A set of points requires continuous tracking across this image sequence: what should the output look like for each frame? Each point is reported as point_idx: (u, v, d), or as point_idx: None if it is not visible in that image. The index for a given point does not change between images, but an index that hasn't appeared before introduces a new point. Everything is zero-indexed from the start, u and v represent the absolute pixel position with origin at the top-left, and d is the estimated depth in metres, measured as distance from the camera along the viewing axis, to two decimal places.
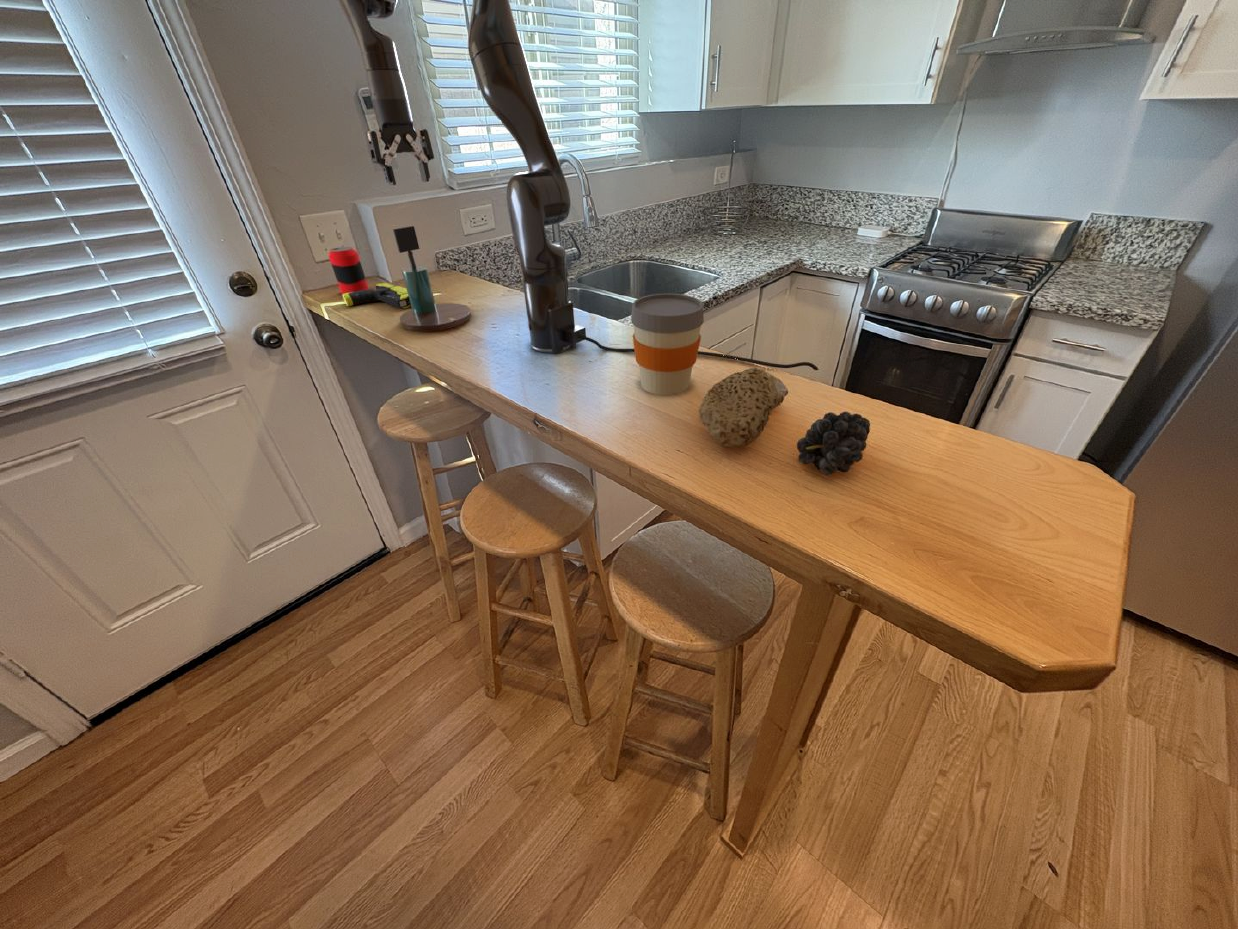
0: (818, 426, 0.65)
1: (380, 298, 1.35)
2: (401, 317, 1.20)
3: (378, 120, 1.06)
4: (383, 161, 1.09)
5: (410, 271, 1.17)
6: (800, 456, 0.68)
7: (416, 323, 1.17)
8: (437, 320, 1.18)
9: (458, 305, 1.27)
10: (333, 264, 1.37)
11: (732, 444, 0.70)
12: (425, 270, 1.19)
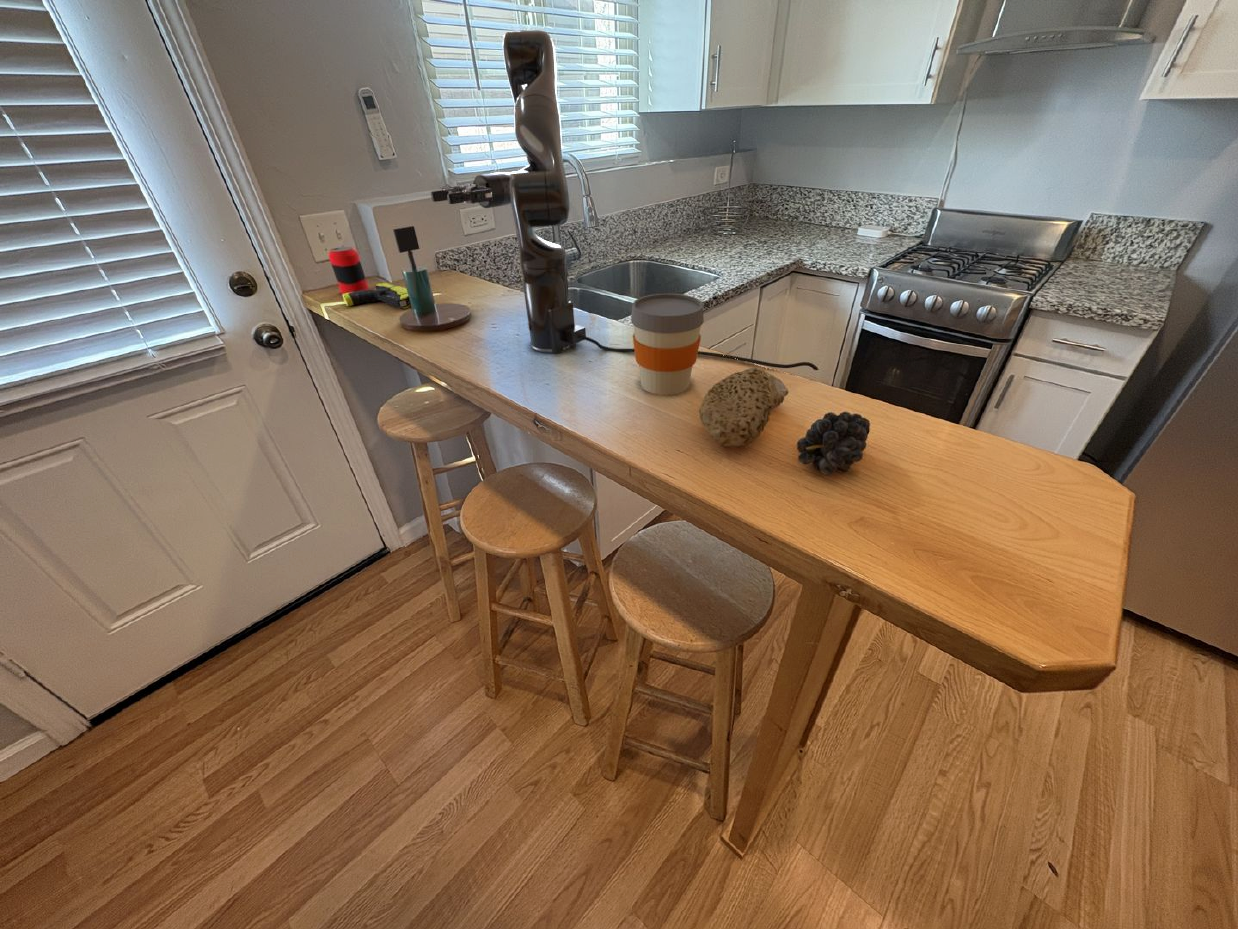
0: (818, 426, 0.65)
1: (380, 298, 1.35)
2: (401, 317, 1.20)
3: None
4: None
5: (410, 271, 1.17)
6: (800, 456, 0.68)
7: (416, 323, 1.17)
8: (437, 320, 1.18)
9: (458, 305, 1.27)
10: (333, 264, 1.37)
11: (732, 444, 0.70)
12: (425, 270, 1.19)
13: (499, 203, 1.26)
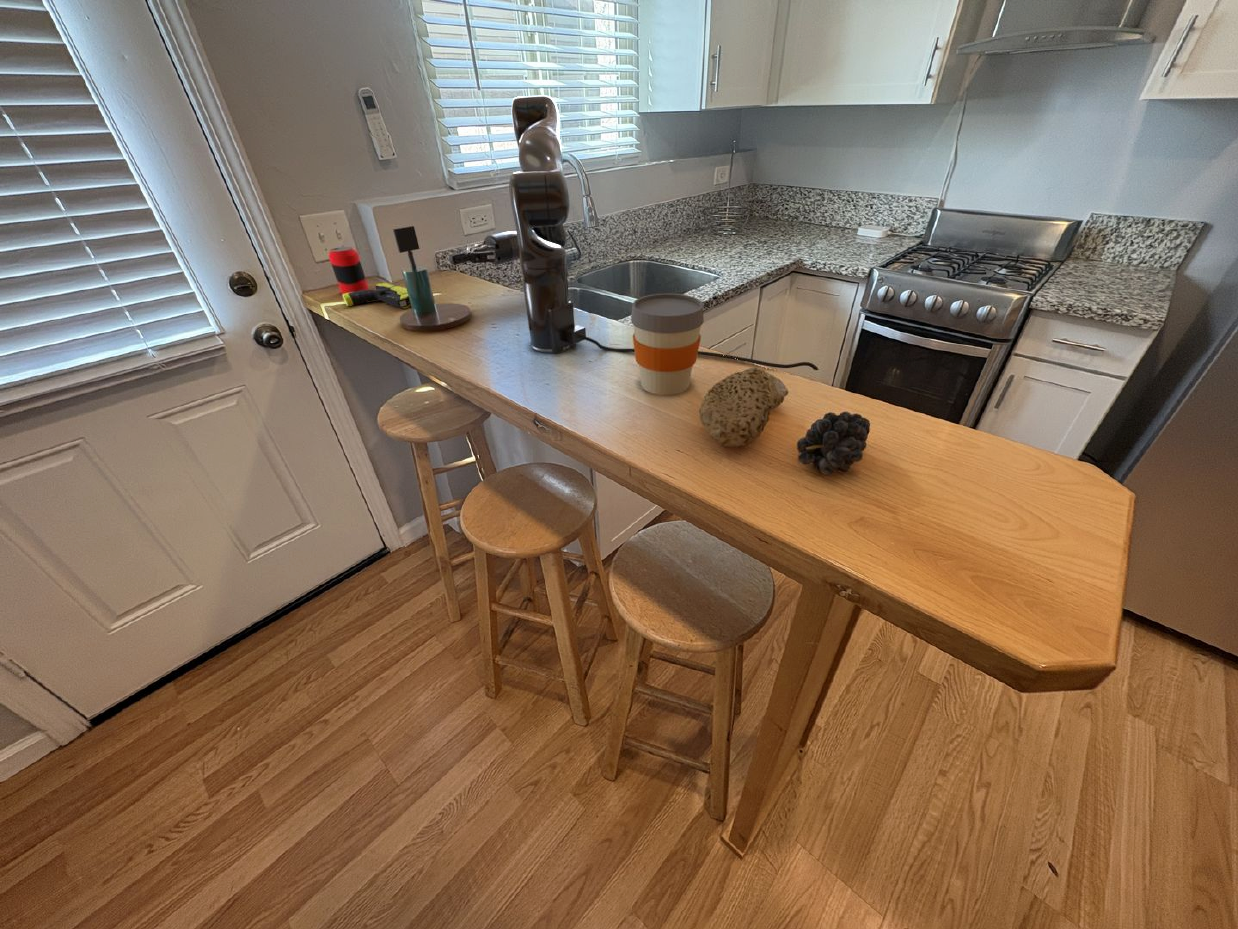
0: (818, 426, 0.65)
1: (380, 298, 1.35)
2: (401, 317, 1.20)
3: None
4: None
5: (410, 271, 1.17)
6: (800, 456, 0.68)
7: (416, 323, 1.17)
8: (437, 320, 1.18)
9: (458, 305, 1.27)
10: (333, 264, 1.37)
11: (732, 444, 0.70)
12: (425, 270, 1.19)
13: (508, 260, 1.34)
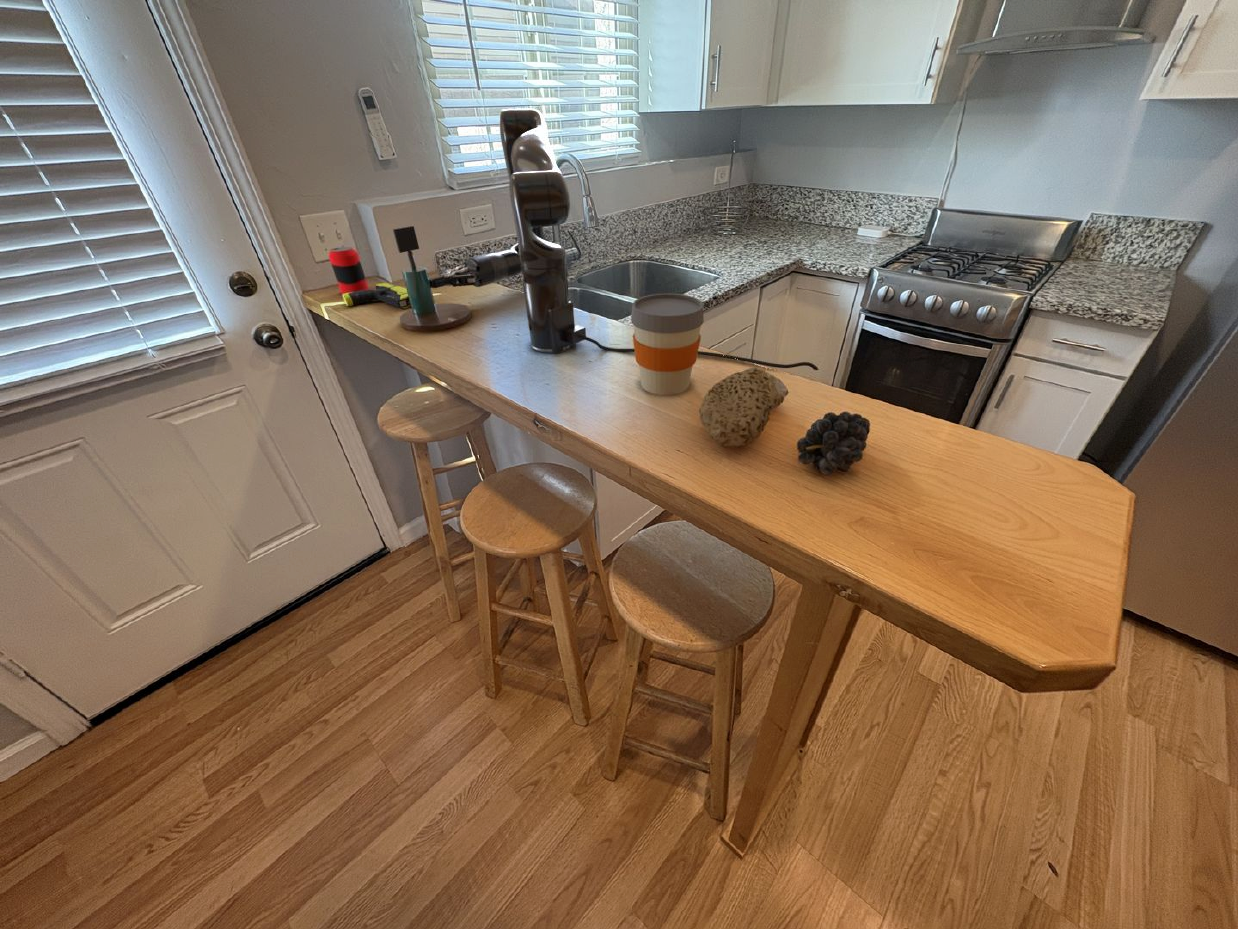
0: (818, 426, 0.65)
1: (380, 298, 1.35)
2: (401, 317, 1.20)
3: None
4: (441, 276, 1.25)
5: (410, 271, 1.17)
6: (800, 456, 0.68)
7: (417, 323, 1.17)
8: (438, 320, 1.18)
9: (458, 305, 1.27)
10: (333, 264, 1.37)
11: (732, 444, 0.70)
12: (425, 270, 1.19)
13: (490, 282, 1.32)
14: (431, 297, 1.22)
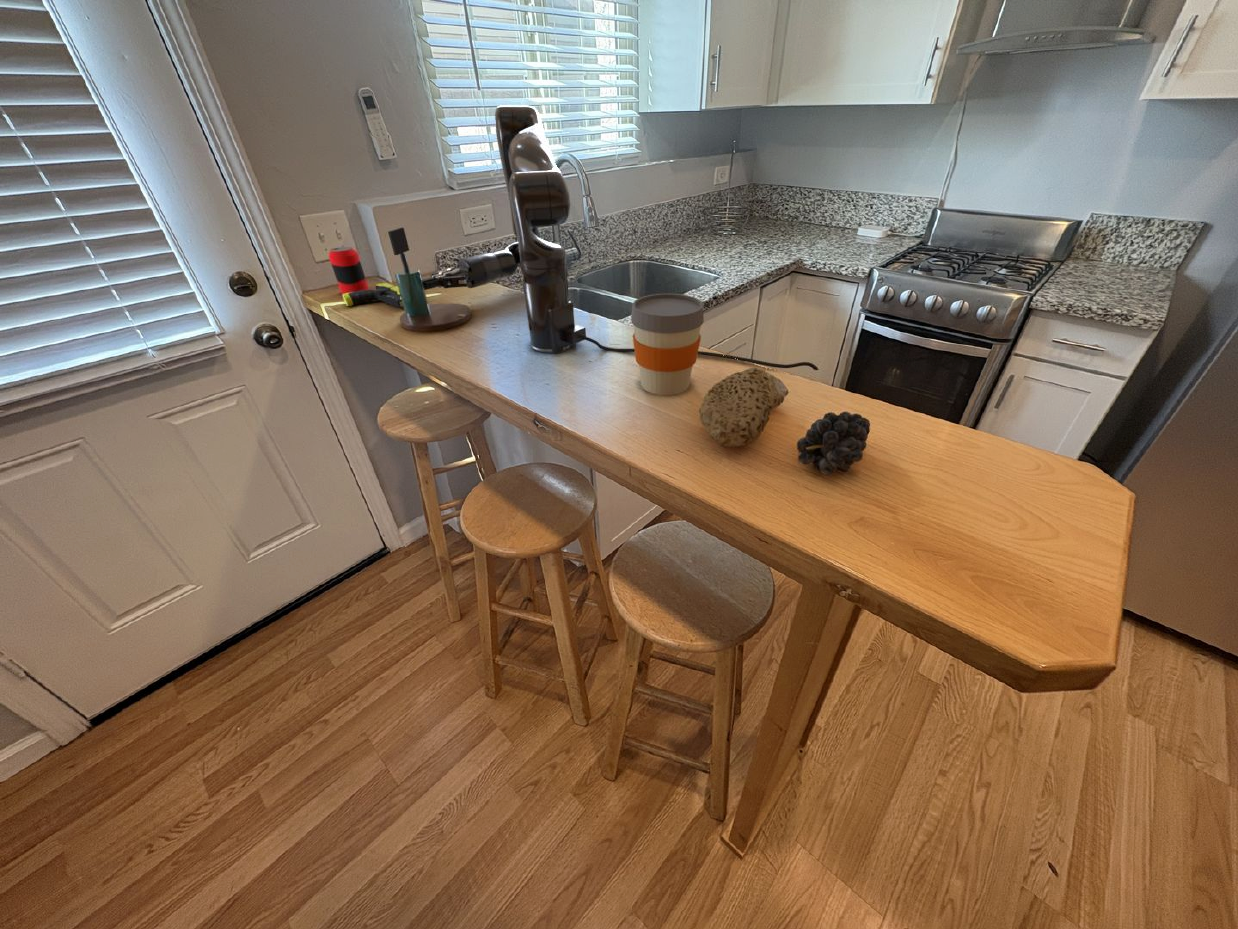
0: (818, 426, 0.65)
1: (380, 298, 1.35)
2: (403, 321, 1.18)
3: None
4: (432, 277, 1.24)
5: (407, 273, 1.16)
6: (800, 456, 0.68)
7: (429, 323, 1.16)
8: (447, 318, 1.19)
9: (447, 304, 1.28)
10: (333, 264, 1.37)
11: (732, 444, 0.70)
12: (419, 271, 1.18)
13: (482, 283, 1.31)
14: (426, 298, 1.22)
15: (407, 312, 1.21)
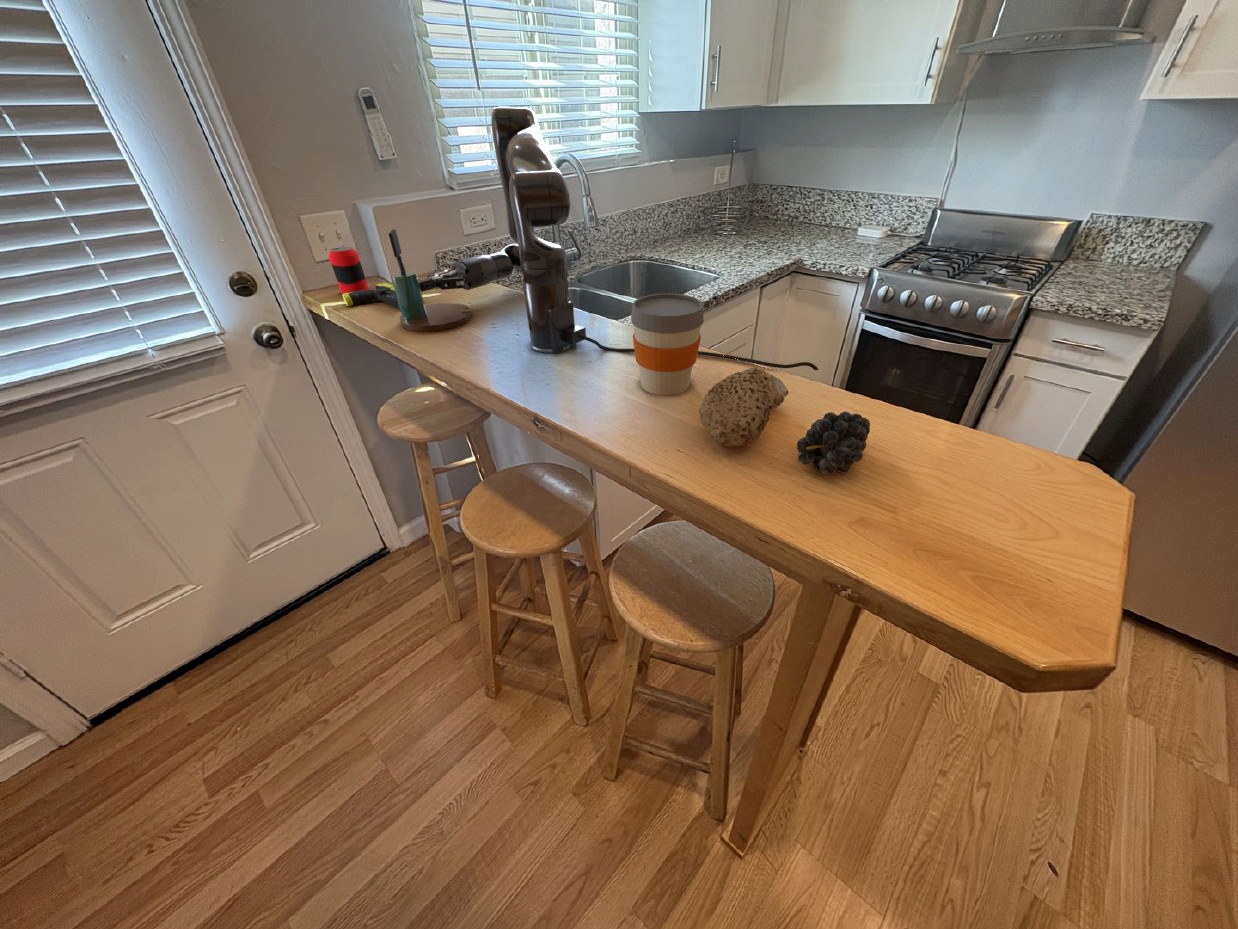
0: (818, 426, 0.65)
1: (380, 298, 1.35)
2: (413, 324, 1.16)
3: None
4: (429, 279, 1.23)
5: (407, 275, 1.14)
6: (800, 456, 0.68)
7: (442, 321, 1.17)
8: (454, 315, 1.21)
9: (434, 304, 1.28)
10: (333, 264, 1.37)
11: (732, 444, 0.70)
12: None
13: (479, 285, 1.30)
14: None
15: (408, 316, 1.18)
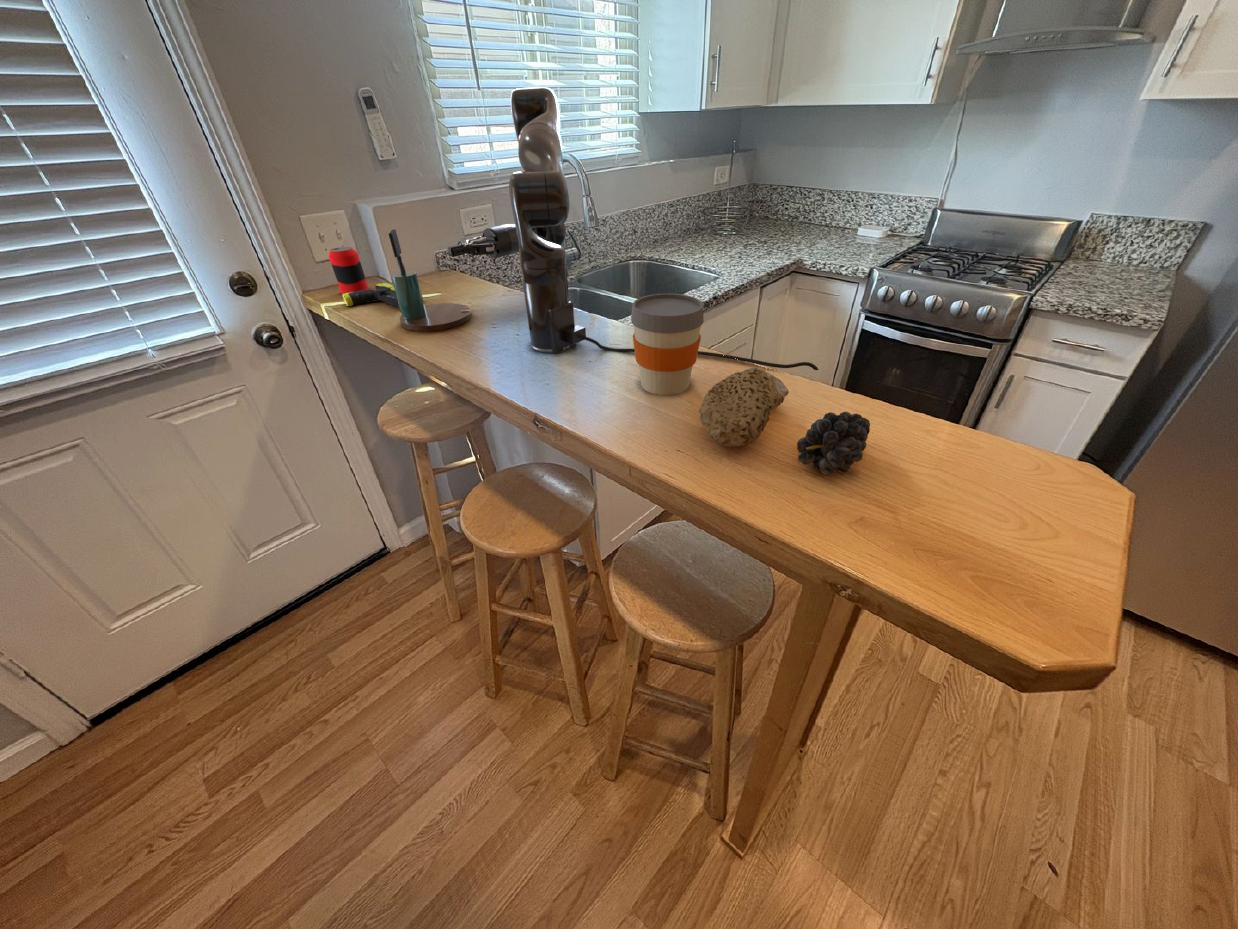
0: (818, 426, 0.65)
1: (380, 298, 1.35)
2: (413, 324, 1.16)
3: None
4: None
5: (407, 275, 1.14)
6: (800, 456, 0.68)
7: (442, 321, 1.17)
8: (454, 315, 1.21)
9: (434, 304, 1.28)
10: (333, 264, 1.37)
11: (732, 444, 0.70)
12: None
13: (507, 253, 1.33)
14: None
15: (408, 316, 1.18)
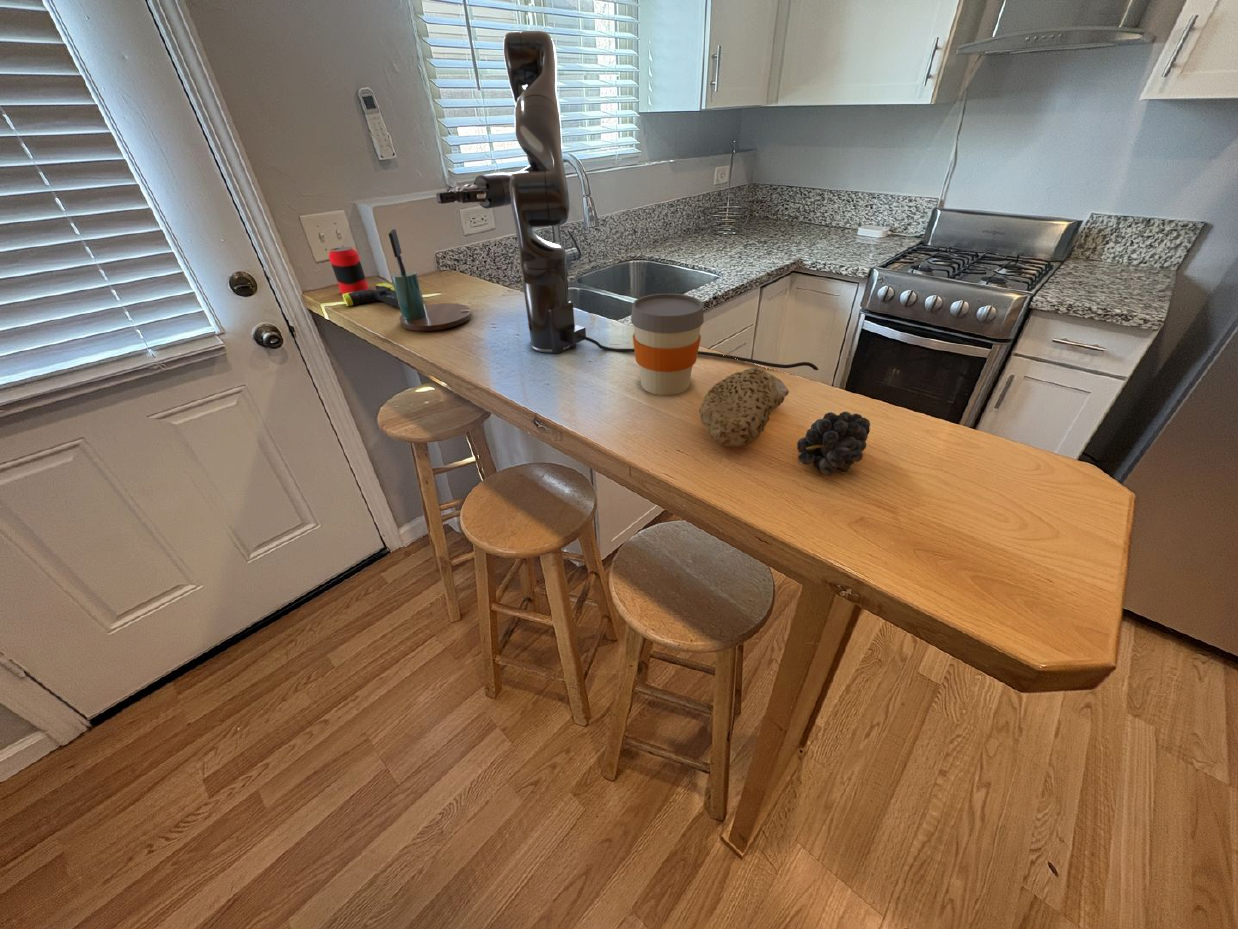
0: (818, 426, 0.65)
1: (380, 298, 1.35)
2: (413, 324, 1.16)
3: None
4: None
5: (407, 275, 1.14)
6: (800, 456, 0.68)
7: (442, 321, 1.17)
8: (454, 315, 1.21)
9: (434, 304, 1.28)
10: (333, 264, 1.37)
11: (732, 444, 0.70)
12: None
13: (499, 203, 1.26)
14: None
15: (408, 316, 1.18)
